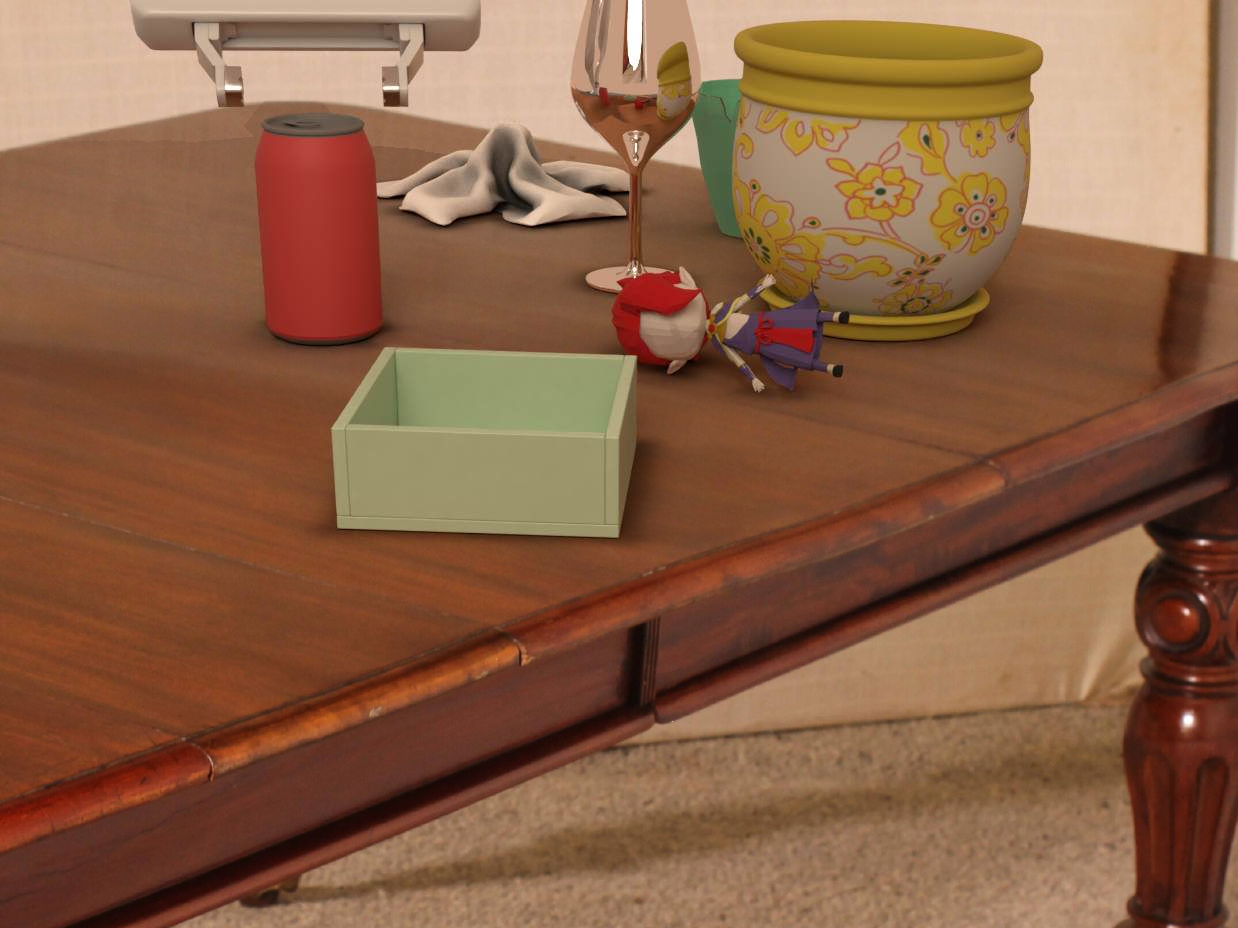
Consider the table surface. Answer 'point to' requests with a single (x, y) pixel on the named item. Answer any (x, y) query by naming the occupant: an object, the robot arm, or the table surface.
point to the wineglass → (635, 94)
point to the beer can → (319, 228)
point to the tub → (488, 443)
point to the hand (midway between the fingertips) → (313, 101)
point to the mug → (718, 146)
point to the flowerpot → (882, 168)
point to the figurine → (719, 327)
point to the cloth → (508, 183)
